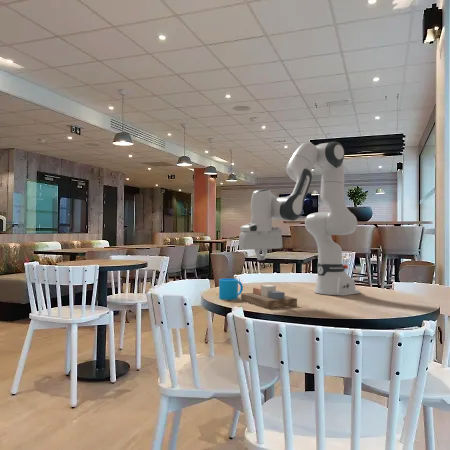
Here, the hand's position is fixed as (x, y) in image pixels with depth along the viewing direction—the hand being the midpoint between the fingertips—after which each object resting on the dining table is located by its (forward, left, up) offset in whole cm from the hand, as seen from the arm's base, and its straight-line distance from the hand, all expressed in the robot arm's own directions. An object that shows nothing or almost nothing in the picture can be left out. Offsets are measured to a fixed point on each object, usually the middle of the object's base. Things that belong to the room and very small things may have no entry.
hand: (261, 259), depth 182 cm
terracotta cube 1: (0, 0, -16) cm, 17 cm away
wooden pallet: (0, +6, -17) cm, 18 cm away
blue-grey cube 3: (0, +12, -16) cm, 20 cm away
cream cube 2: (0, +6, -15) cm, 16 cm away
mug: (+7, -12, -18) cm, 23 cm away
